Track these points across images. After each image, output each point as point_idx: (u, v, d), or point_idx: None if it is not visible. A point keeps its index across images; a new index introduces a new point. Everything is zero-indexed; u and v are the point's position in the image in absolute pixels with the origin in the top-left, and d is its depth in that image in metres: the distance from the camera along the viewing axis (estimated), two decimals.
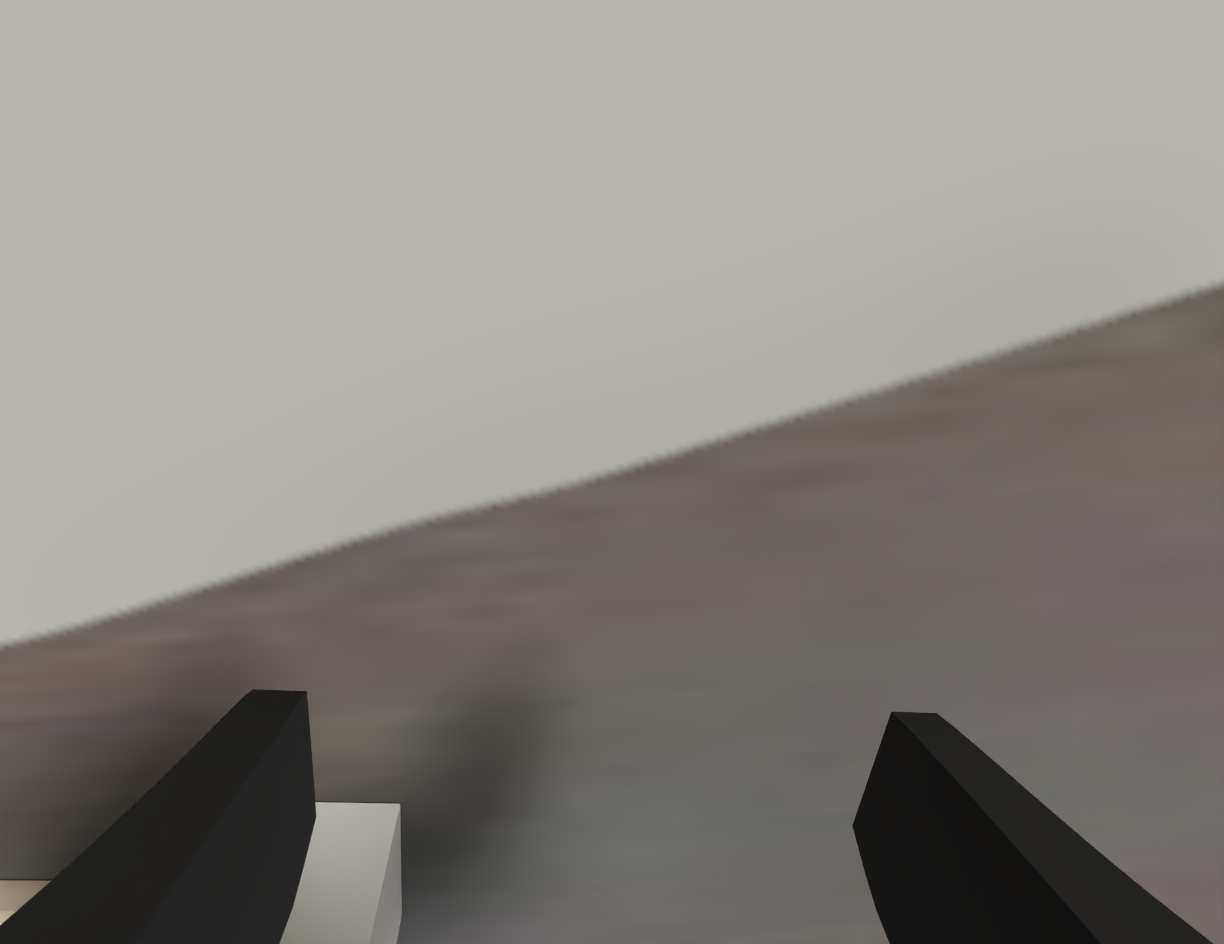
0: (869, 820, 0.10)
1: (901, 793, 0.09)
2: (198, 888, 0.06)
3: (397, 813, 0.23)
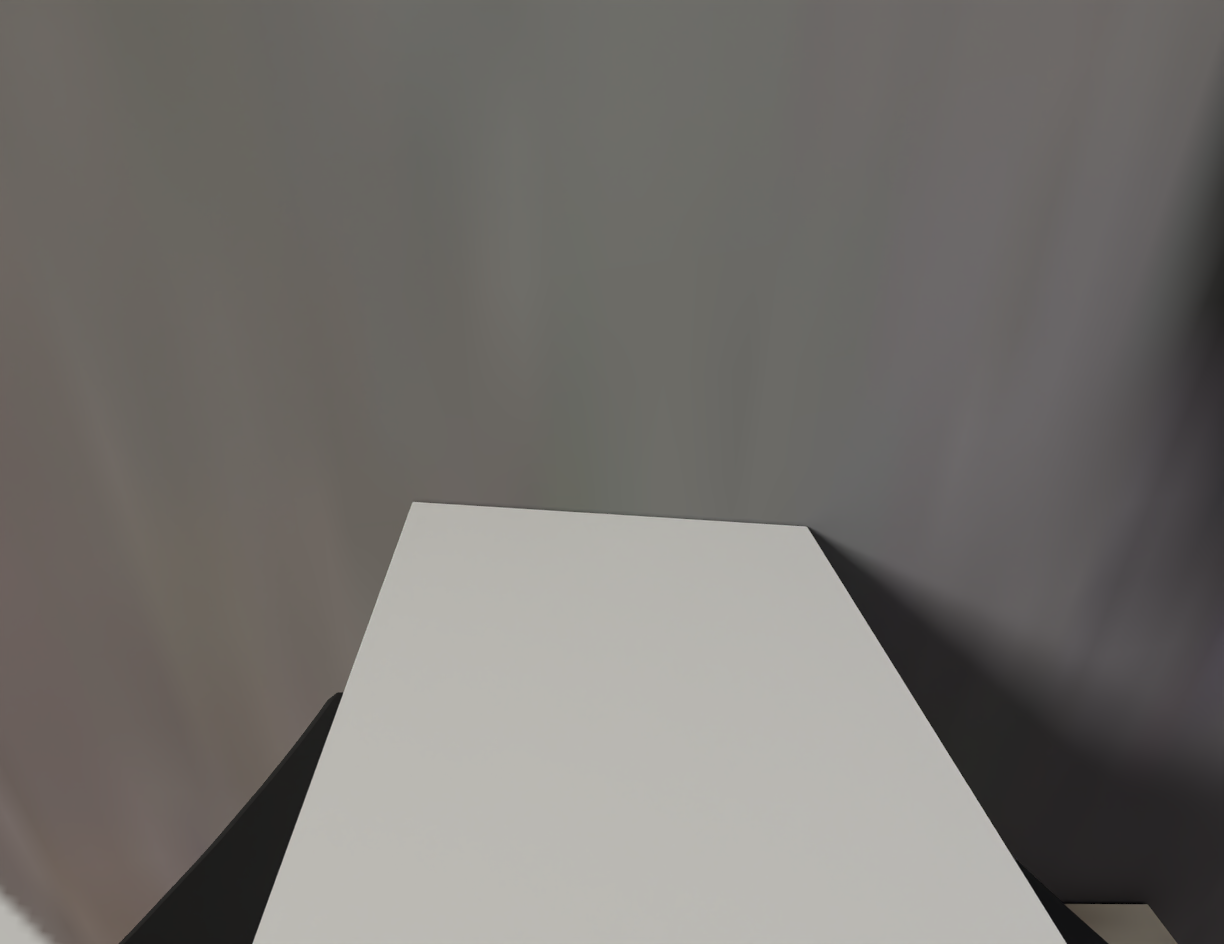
0: None
1: None
2: None
3: (407, 516, 0.09)
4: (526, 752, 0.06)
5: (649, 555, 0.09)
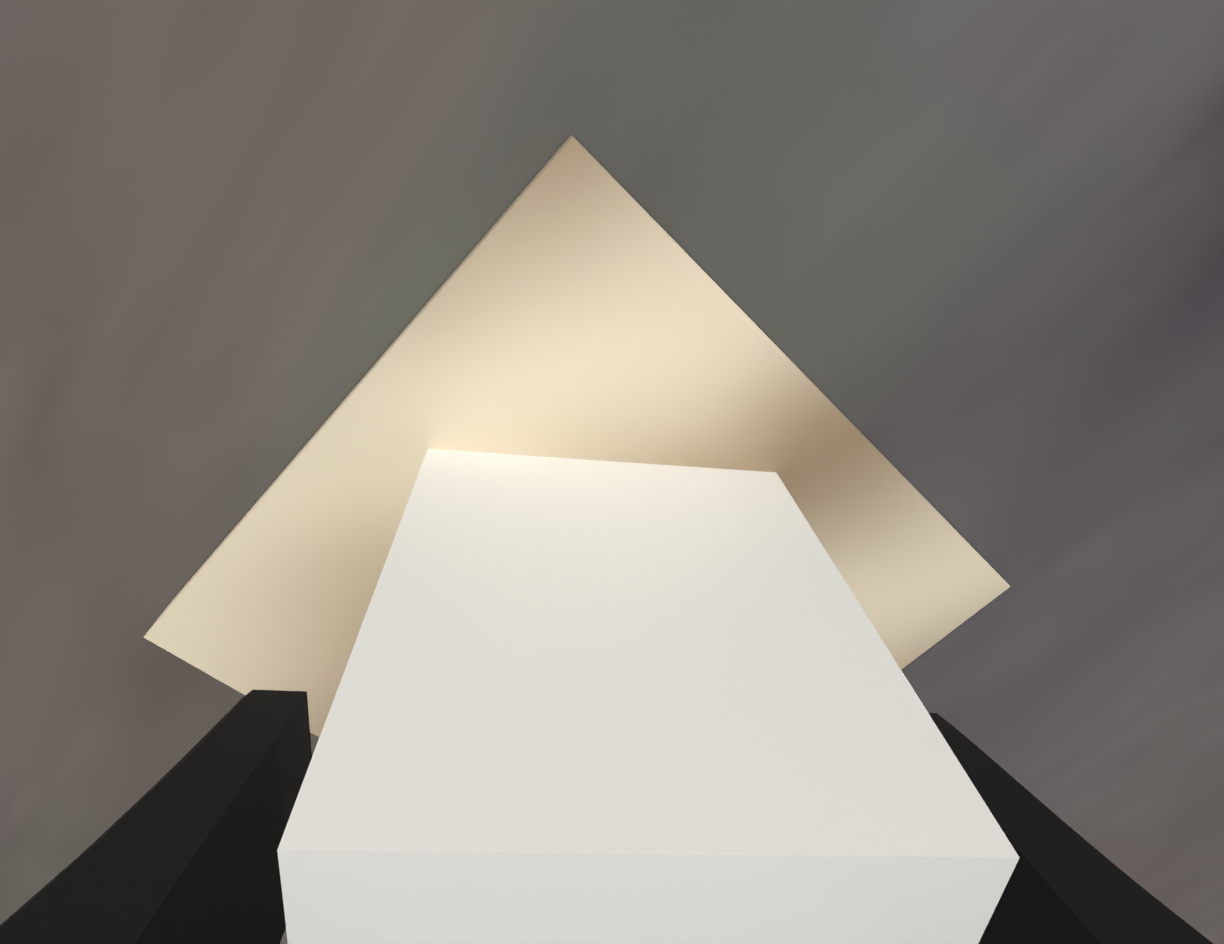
0: None
1: None
2: (198, 888, 0.06)
3: None
4: (528, 627, 0.07)
5: (635, 492, 0.10)
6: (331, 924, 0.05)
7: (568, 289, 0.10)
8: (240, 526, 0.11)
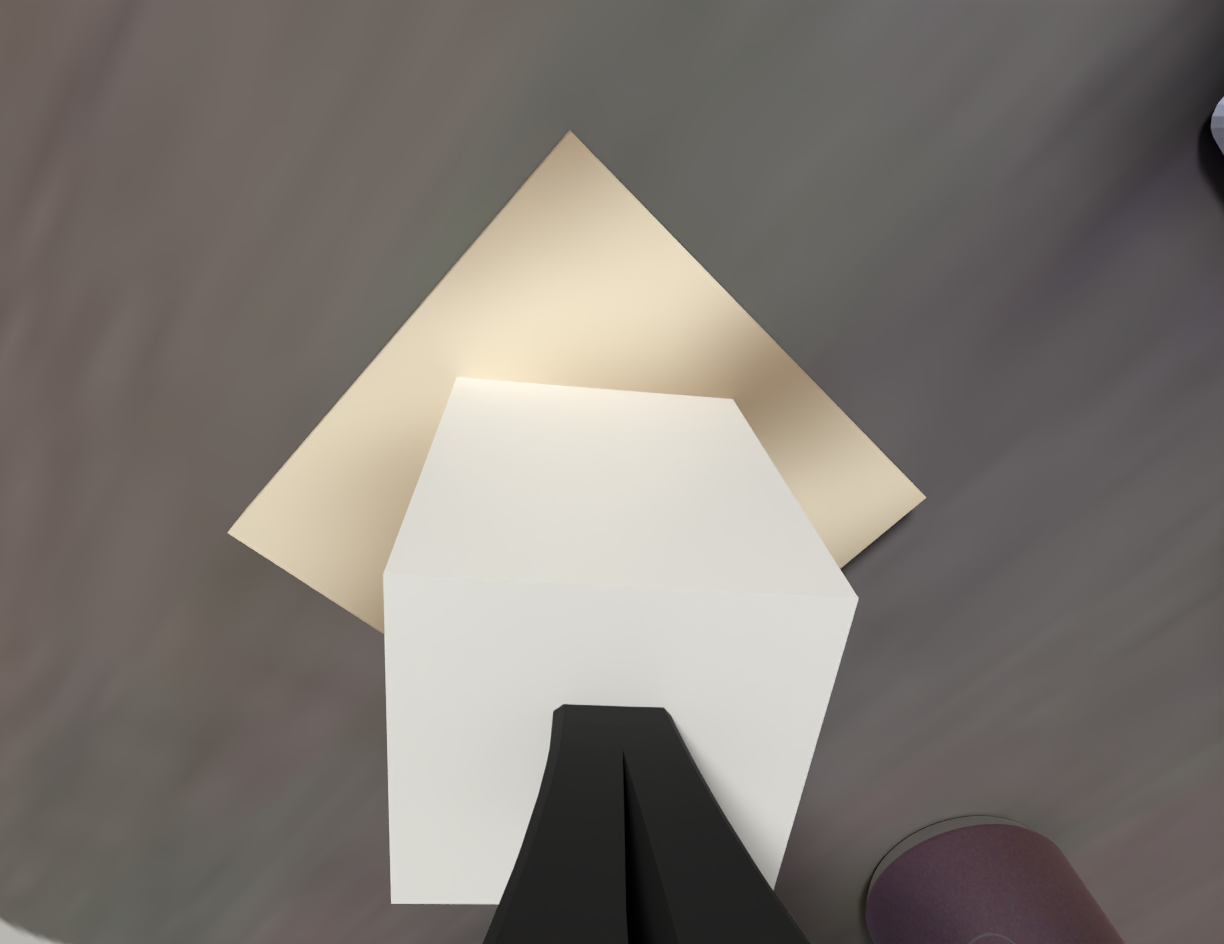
0: None
1: None
2: None
3: (454, 384, 0.14)
4: (538, 480, 0.10)
5: (619, 408, 0.13)
6: (413, 634, 0.08)
7: (567, 249, 0.13)
8: (308, 440, 0.14)
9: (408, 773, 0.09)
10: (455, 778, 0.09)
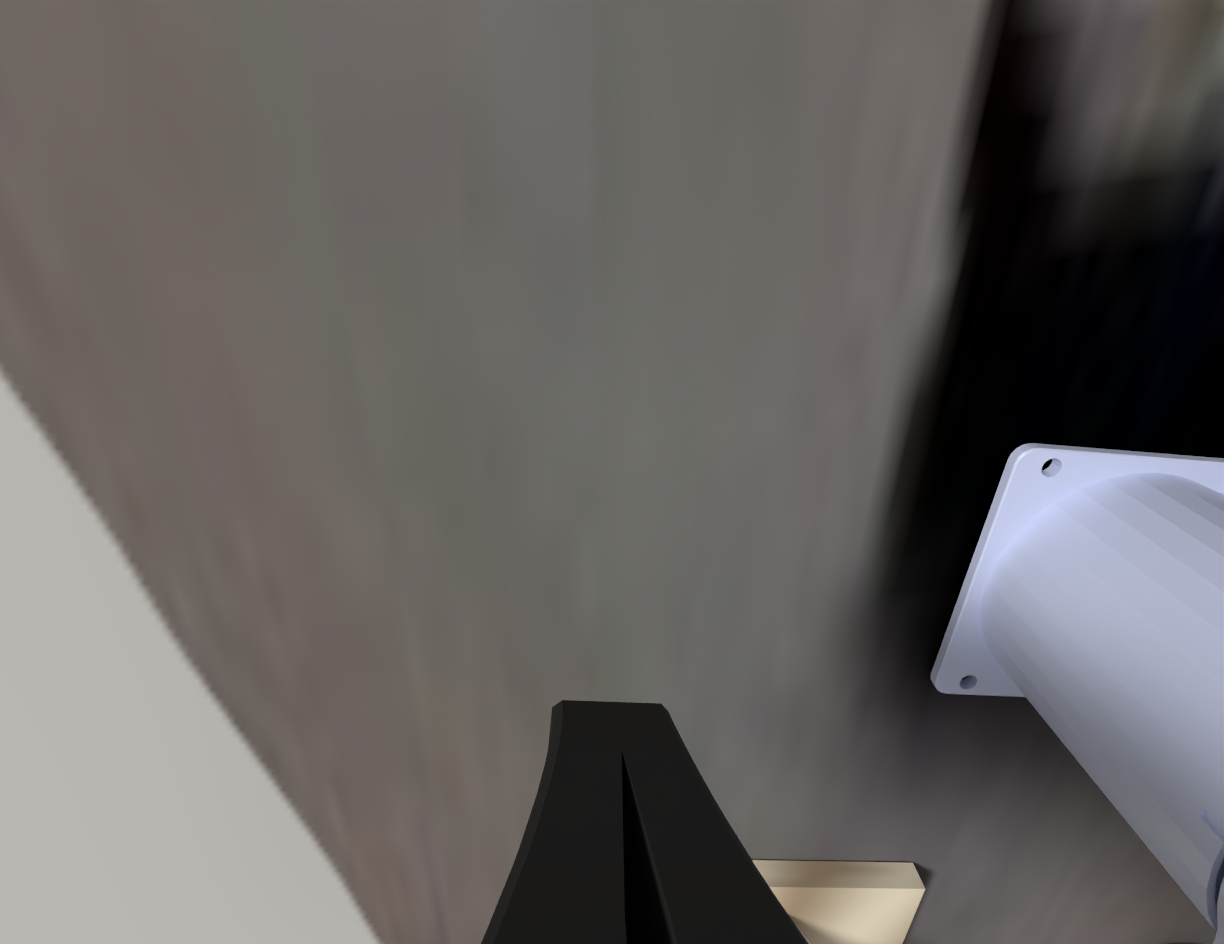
0: None
1: None
2: None
3: None
4: None
5: None
6: None
7: None
8: None
9: None
10: None
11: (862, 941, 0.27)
